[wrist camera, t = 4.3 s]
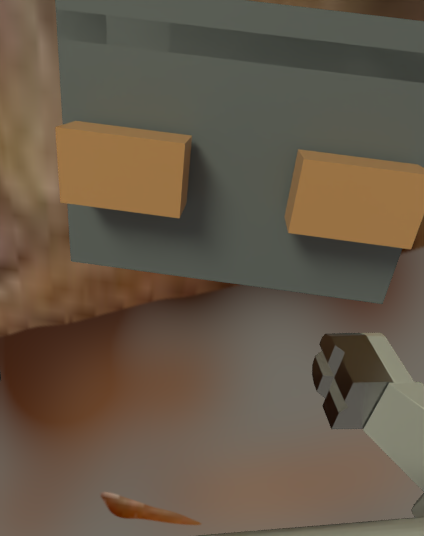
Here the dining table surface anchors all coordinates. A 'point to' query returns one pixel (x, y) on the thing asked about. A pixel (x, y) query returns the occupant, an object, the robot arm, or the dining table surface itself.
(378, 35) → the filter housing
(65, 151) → the tan cardboard-like brick
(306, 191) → the tan rectangular block
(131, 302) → the dining table surface
